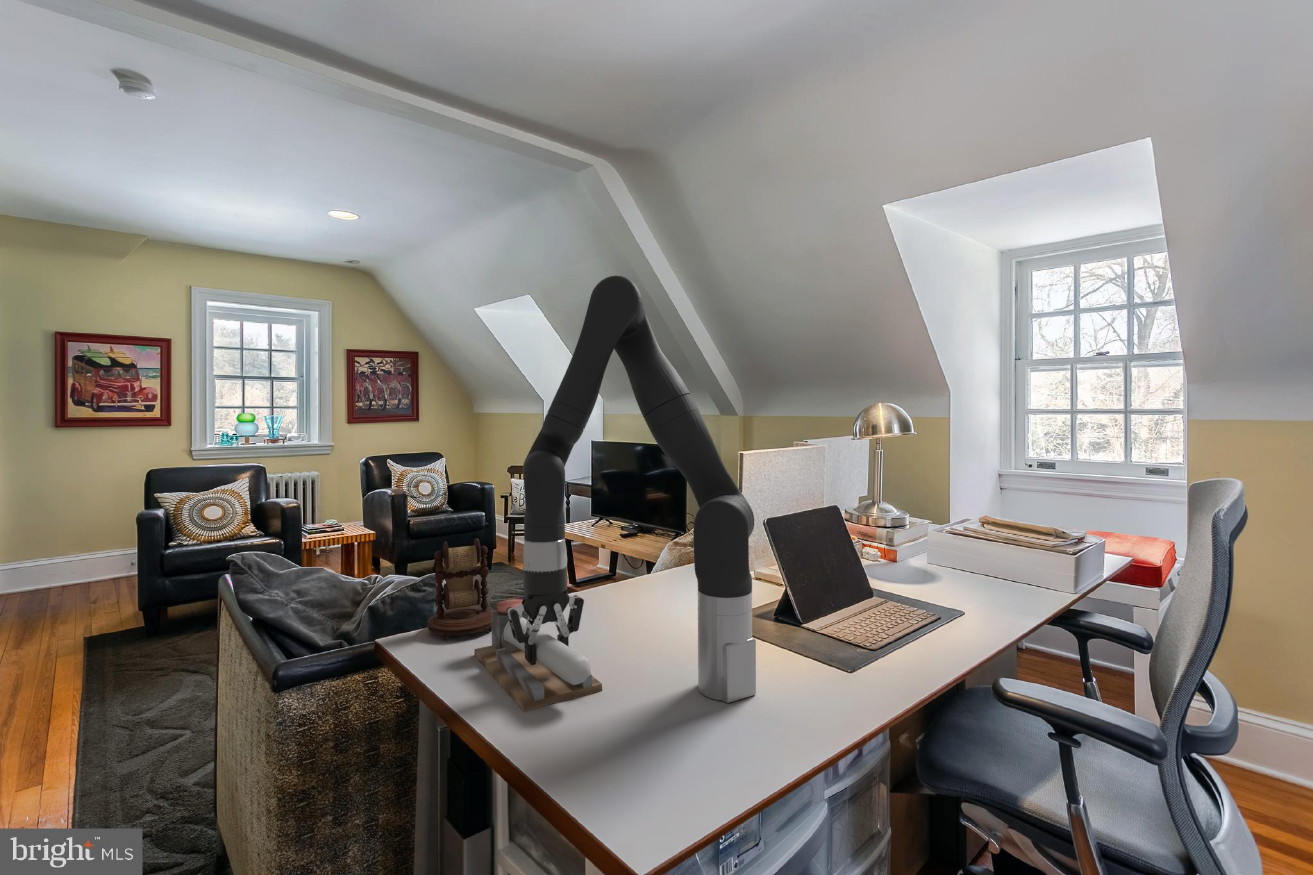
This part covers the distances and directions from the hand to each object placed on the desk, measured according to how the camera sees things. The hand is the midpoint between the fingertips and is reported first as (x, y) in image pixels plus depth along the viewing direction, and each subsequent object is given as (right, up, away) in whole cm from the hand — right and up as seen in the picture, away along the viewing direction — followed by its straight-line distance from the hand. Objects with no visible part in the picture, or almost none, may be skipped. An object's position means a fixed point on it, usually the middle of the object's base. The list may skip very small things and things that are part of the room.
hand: (546, 659), depth 113 cm
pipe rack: (-3, -4, +6) cm, 8 cm away
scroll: (-23, -3, +28) cm, 37 cm away
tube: (0, -1, 0) cm, 1 cm away
